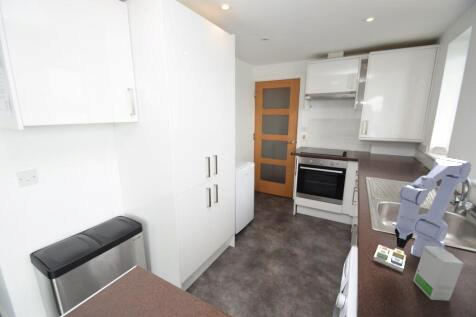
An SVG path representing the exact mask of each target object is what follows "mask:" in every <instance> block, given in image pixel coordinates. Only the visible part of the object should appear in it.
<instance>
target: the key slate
mask: <svg viewBox="0 0 476 317" xmlns="http://www.w3.org/2000/svg"><path fill="white" fill-rule="evenodd" d="M392 262H393V263H395V264H397V265H400V266H401V264H402V259H400V258H397V257H394V256H393V258H392Z"/></svg>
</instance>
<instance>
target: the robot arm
mask: <svg viewBox="0 0 476 317" xmlns="http://www.w3.org/2000/svg"><path fill="white" fill-rule="evenodd" d="M471 170H472V164H471V162H470V161H469V160H461V159H456V158H455V159H454V158H448V157H444V156H438V157H436V159H435V160H434V162H433V168H432V169H431V170H430V171H429V172H428V173H427V175H422V176H421V175H420V176H419V177H418V178H417V179H416V180H414V181H413V182H412V183H411V184H410V185H404V186H402V188H401V189H400V190H399V196H398V197H399V203H400V207H399V211H398V214H397V219H396V222H394V221H393V222H392V224H391V225H392V226H395V229H394V234H395V237H396V247H397V248H400V249H404V248H405V247H406V245H407V243H408V242H409V241H410V240H412V238H413V236H414V234H415V239H414V243H413V245H411V249H410V255H413V256H414V257H417V258H420V259H421V255H422V252H423V249H424V246H434V247H442V248H444V249H445V241H444V240H445V239H446V236H447V235H448V229H449V225H448V224H447V223H446V221H445V220H444V219H443V217H444V215H445V213H446V211H447V209H448V206H449V205H450V202H451V200H452V198H453V196H454V194H455V192H456V190H457V187H458V186H459V184H461V183H466V181H467V179H468V177H469V175H470V173H471ZM440 180H441V182H440V185H439V187H438V189H437V191H436V194H435V196H434V198H433V201H432V203H431V204H430V207H429V209H428V211H427V213H424V214H423V213H422V214H419V212H420V208H421V206H422V204H424V203H425V201H426V199H427V198H428V196H429V193H431V192H432V191H433V190H434V189H435V188H437V185H438V184H437V182H439V181H440Z"/></svg>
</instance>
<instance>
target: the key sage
mask: <svg viewBox="0 0 476 317" xmlns="http://www.w3.org/2000/svg"><path fill="white" fill-rule="evenodd" d="M387 255H388V251H385V250H383V249H380V248H379V251H378V255H377V256H378V257H380V258H383V259H385V260H386V259H387Z"/></svg>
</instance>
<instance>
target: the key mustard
mask: <svg viewBox="0 0 476 317" xmlns="http://www.w3.org/2000/svg"><path fill="white" fill-rule="evenodd" d="M393 250H394V254H393V256H394V257H397V258H400V259H403V255H404V254H405V251H403V250H401V249H398V248H394V249H393Z"/></svg>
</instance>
